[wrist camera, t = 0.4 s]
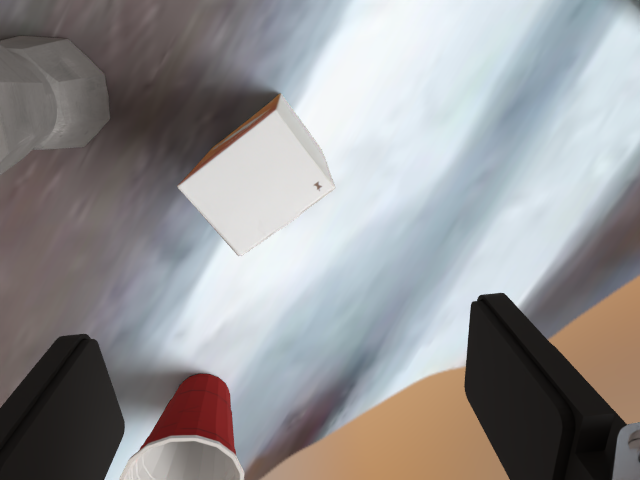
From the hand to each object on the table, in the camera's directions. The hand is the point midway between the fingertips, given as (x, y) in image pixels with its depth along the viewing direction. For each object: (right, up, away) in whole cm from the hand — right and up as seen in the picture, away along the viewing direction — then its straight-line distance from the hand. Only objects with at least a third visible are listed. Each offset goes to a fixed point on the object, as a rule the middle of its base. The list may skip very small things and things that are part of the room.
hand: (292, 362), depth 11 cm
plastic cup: (-12, -14, +38) cm, 43 cm away
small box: (-4, +11, +28) cm, 31 cm away
